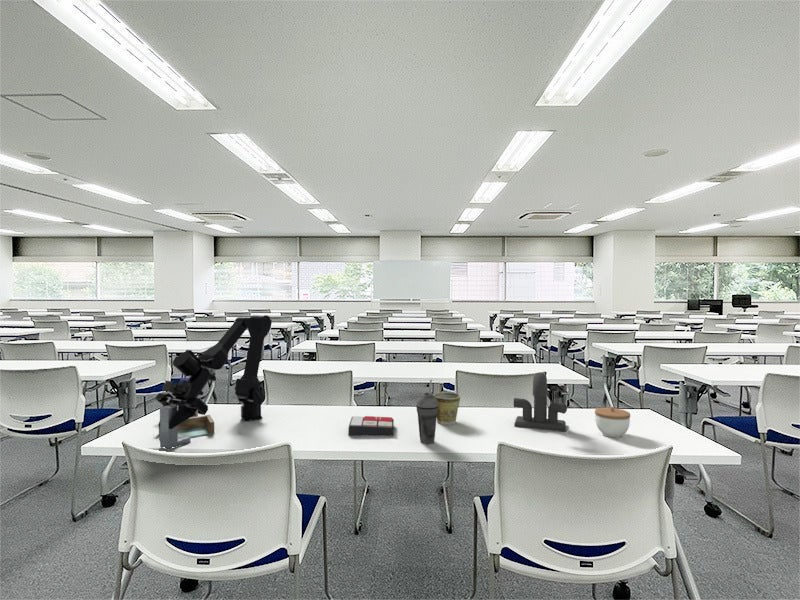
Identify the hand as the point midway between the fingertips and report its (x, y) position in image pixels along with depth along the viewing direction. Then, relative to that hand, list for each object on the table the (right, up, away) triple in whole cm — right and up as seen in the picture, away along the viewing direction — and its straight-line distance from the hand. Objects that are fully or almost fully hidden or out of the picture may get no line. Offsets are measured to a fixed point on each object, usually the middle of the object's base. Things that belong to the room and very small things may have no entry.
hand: (164, 427), depth 134 cm
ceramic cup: (+90, -6, +28) cm, 94 cm away
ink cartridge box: (-11, -6, +34) cm, 36 cm away
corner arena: (0, -6, +14) cm, 15 cm away
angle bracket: (+2, -6, +3) cm, 7 cm away
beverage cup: (+81, -7, +6) cm, 81 cm away
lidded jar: (+144, -6, +13) cm, 144 cm away
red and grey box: (+62, -7, +17) cm, 65 cm away
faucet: (+121, -6, +19) cm, 123 cm away
